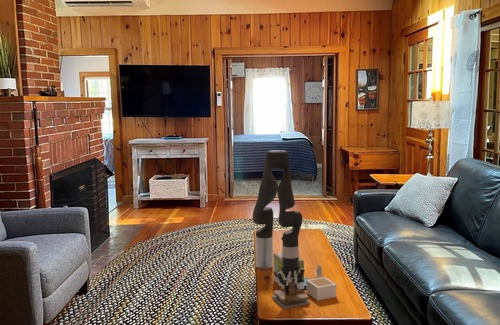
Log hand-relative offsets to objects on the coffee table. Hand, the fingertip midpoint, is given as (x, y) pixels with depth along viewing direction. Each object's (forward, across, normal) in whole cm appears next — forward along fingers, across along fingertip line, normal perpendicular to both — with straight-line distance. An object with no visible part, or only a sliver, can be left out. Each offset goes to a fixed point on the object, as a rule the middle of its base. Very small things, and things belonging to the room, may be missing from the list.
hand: (290, 291), depth 199 cm
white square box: (+4, -16, 0) cm, 16 cm away
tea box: (+4, -7, -16) cm, 18 cm away
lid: (+2, 0, 0) cm, 2 cm away
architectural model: (+5, -25, -17) cm, 31 cm away
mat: (+4, 0, 0) cm, 4 cm away
